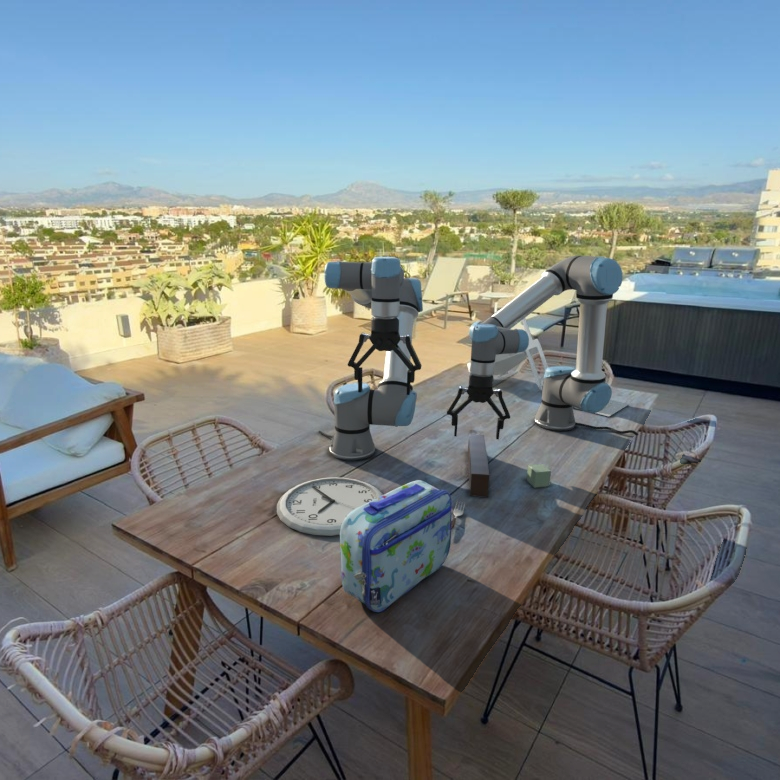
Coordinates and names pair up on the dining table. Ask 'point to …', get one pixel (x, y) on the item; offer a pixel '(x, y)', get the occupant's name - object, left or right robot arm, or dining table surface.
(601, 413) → the invitation card
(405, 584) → the lunch box
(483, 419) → the dining table surface
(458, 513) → the fork
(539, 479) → the sage block
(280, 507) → the wall clock
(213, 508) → the dining table surface
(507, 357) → the white plastic object
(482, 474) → the walnut block
